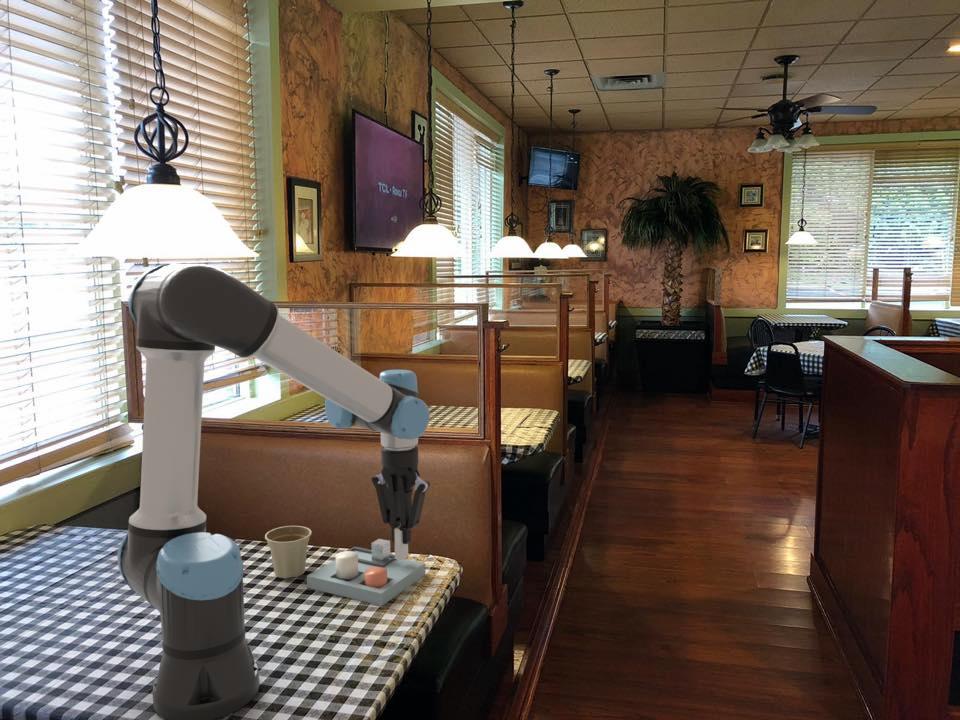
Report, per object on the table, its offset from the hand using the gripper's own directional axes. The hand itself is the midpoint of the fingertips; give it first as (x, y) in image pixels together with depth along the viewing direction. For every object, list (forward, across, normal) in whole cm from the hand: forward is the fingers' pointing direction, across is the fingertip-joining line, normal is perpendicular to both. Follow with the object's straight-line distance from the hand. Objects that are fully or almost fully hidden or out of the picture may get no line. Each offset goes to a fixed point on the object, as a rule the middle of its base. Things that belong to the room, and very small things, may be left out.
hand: (401, 557), depth 154 cm
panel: (+4, +5, +5) cm, 8 cm away
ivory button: (+2, +7, +9) cm, 12 cm away
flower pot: (+4, +22, +9) cm, 24 cm away
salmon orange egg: (+4, 0, +9) cm, 10 cm away
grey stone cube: (+2, +5, 0) cm, 5 cm away
